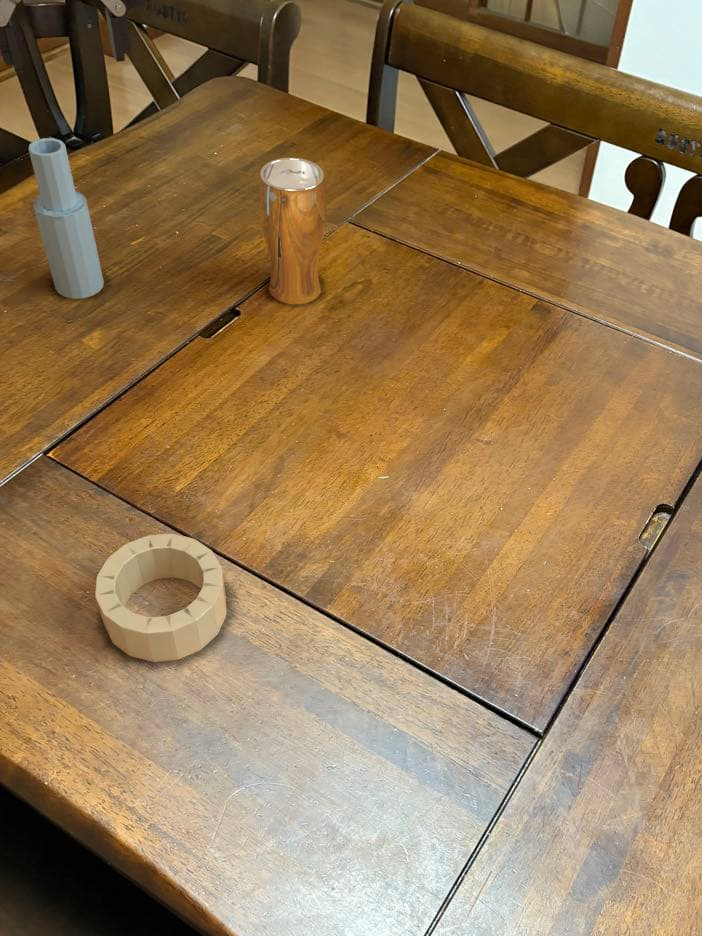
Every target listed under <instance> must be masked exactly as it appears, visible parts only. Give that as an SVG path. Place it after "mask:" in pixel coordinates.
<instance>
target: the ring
mask: <svg viewBox="0 0 702 936" xmlns="http://www.w3.org/2000/svg"><path fill="white" fill-rule="evenodd" d="M103 563H104V564H103V565H102V566H101V568H100V570H99V571H98V574H97V575H96V578H95V579H96V580H95V581H96V582H95V591H94V595H95V596H94V597H95V601H96V604H97V607H98V610H99V613H100V616H101V619H102V622H103V626H104V629H105V630H106V632H107V634H108V636H109V638H110V640H111V643H112V644H113V645H114V646H115V647H117V648H118V649H120V650H121V651H122V652H124V653H125V654H126V655H128V656H129V657H132V658H136V659H139V660H143V661H147V662H151V663H153V662H154V663H159V662H169V661H178V660H181V659H184V658H186V657H187V656H190V655H192V654H194V653H197V652H200V651H201V650H202V649H203V648H205V647H206V646H207V645H208V644H209V643H210V642H211V641H212V640H213V639H214V638H215V637H216V636H217V635H218V634H219V633H220V631H221V629H222V626H223V624H224V621H225V620H226V618H227V595H226V589H225V580H224V574H223V567H222V565H221V563H220V561H219V560H218V558H217V557H216V555H215V553H214V552H213V550H212V549H210V548H209V547H207V546H206V545H204V544H203V543H201V542H200V541H198V540H197V539H195V538H193V537H189V536H184V535H180V534H176V533H161V534H149V535H146V536H143V537H140V538H138V539H134V540H132V541H129V542H127V543H125V544H123V545H122V546H120V548H118V549H117V550H116V551H115V552H113V553H112V554H111V555H110V556H108V557H107V558H106V560H105V562H103ZM170 578H176V579H179V580H184V581H187V582H190V583H192V584H193V585H195V586H196V587H197V588H199V589H200V591H199V593H198V594H197V597H196V598H195V599H194V600H193V601H192V602H191V603H190V604H189V605H187V606H186V607H185V608H183V609H181V610H178V611H176V612H173V613H171V614H169V615H163V616H145V615H141V614H138V613H134V612H133V611H131V610H130V609H128V608H127V607H126V606H127V603H128V601H129V600H130V597H132V596H131V595H133V594H134V593H135V592H136V591H138V590H139V589H140V588H141V587H142V586H144V585H146V584H148V583H151V582H153V581H156V580H160V579H170Z"/></svg>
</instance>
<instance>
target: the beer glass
mask: <svg viewBox="0 0 702 936" xmlns="http://www.w3.org/2000/svg"><path fill="white" fill-rule="evenodd" d="M259 172H260V173H259V174H260V185H259V188H260V189H259V213H260V214H259V215H260V224H261V229H262V235H263V238H264V242H265V247H266V250H267V255H268V258H269V264H270V280H269V286H268V292H269V294H270V295H271V296H272V297H273V298H274V299H275V300H277V301H279V302H281V303H284V304H288V305H303V304H307V303H310V302H312V301H314V300H316V299H317V298H318V297H319V296H320V294H321V290H322V288H321V283H320V280H319V279H320V278H319V261H320V255H321V250H322V246H323V245H322V244H323V240H324V234H325V229H326V215H327V213H326V212H327V209H326V190H325V173H324V170H323V169H322V168H321V167H320V165H319V164H317V163H315V162H313V161H311V160H308V159H304V158H299V157H282V158H277V159H273V160H270V161H269V162H267V163H265V164H264V165H263V166H262V167H261V169H260V171H259Z"/></svg>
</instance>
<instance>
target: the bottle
mask: <svg viewBox="0 0 702 936" xmlns="http://www.w3.org/2000/svg"><path fill="white" fill-rule="evenodd" d="M28 152H29V157H30V160H31V165H32V169H33V173H34V177H35V180H36V184H37V189H38V192H39V193H38V194H39V195H37V197H36V198H34V201H33V209H34V213H35V218H36V221H37V223H38V224H37V225H38V228H39V232H40V236H41V240H42V243H43V247H44V251H45V254H46V259H47V262H48V266H49V270H50V275H51V277H52V282H53V285H54V288H55V290H56V292H57V294H59V295H61V296H62V297H65V298H67V299H68V298H69V299H73V300H75V299H86V298H89V297H92V296H94V295H96V294H98V293H100V291H101V290H102V289H103V288H104V282H105V281H104V277H103V272H102V267H101V262H100V258H99V253H98V248H97V243H96V239H95V233H94V229H93V225H92V220H91V215H90V211H89V206H88V202H87V198H86V197H85V195H84V194H83V193H81V192H79V191H76V188H75V183H74V178H73V174H72V169H71V166H70V165H71V164H70V161H69V157H68V151H67V147H66V144H65V143H64V142H63V141H62V140H60V139H57V138H54V137H49V138H48V137H46V138H45V137H43V138H40V139H35V140H34V141H32V142H31V143H29V145H28Z"/></svg>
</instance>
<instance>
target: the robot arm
mask: <svg viewBox="0 0 702 936" xmlns="http://www.w3.org/2000/svg"><path fill="white" fill-rule="evenodd" d="M100 1H101V2H102V4H103V5H105V7H104V11H105V18H106V23H107V31H108V36H109V43H110V48H111V53H112V55H113V57H114V60H115V61H116V62H125V61H126V58H125V54H126V55H127V54H130V52H131V40H130V35H129V27H128V21H127V20H128V19H127V14H128V12H129V11H130V10H131V9H133V8H135V7H142V6H144V5H145V4H146V3H147V0H100ZM19 3H21V0H0V55H1V58H2V61H3V62H4V63H5V65H6V66H7V67H8V66H12V68H13V70H14V71H13V72H14V73H23V72H24V71H25V70H24V67H23V61H22V59H21V54H20V51H19V50H20V49H19V45H18V42H17V37H16V33H15V29H14V28H15V27H14V26H13V23H12V20H11V17H12V15H13V13H14V11H15V8H16V7H17V5H19Z"/></svg>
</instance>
